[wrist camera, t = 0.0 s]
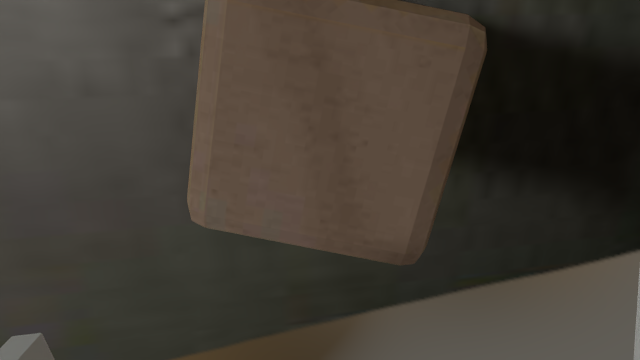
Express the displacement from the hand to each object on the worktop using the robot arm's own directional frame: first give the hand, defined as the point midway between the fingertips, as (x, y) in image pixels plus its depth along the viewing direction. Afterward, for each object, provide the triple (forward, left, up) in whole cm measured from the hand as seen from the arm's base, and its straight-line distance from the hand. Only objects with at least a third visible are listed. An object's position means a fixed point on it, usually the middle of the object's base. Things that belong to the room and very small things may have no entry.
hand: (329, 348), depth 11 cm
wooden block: (-2, 0, -28) cm, 28 cm away
